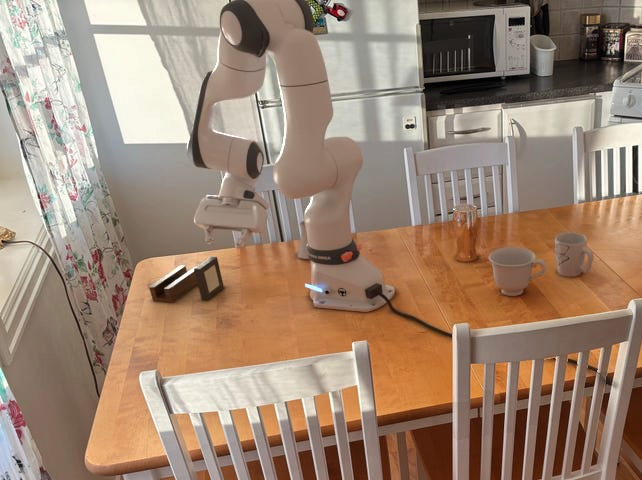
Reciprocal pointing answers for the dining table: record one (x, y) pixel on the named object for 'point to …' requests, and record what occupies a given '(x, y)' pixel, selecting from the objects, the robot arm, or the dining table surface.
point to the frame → (209, 278)
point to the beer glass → (465, 231)
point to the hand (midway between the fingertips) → (223, 244)
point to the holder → (173, 285)
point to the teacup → (514, 269)
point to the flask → (303, 242)
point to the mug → (572, 254)
